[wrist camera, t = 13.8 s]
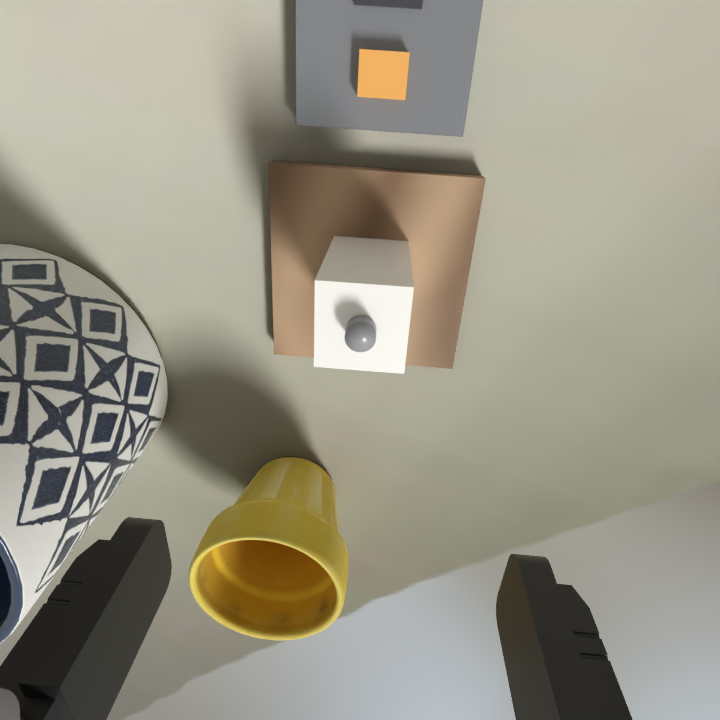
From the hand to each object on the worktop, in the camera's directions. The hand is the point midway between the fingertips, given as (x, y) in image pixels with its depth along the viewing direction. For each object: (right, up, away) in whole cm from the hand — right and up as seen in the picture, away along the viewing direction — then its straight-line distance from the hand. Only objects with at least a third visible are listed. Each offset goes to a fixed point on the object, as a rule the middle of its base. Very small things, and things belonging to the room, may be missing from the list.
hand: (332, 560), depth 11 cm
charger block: (+1, +10, +18) cm, 21 cm away
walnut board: (+1, +10, +19) cm, 22 cm away
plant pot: (-5, -6, +29) cm, 30 cm away
